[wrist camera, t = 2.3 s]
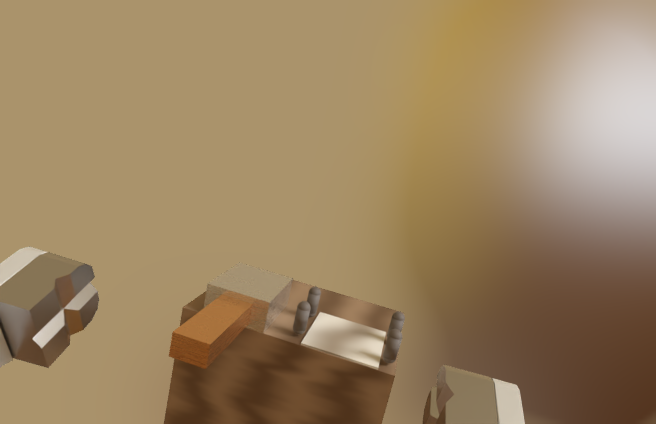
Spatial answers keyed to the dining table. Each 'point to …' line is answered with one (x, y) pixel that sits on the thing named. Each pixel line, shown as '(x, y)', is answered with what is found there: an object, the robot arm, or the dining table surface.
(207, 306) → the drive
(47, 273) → the robot arm
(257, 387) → the tall wood grain block
